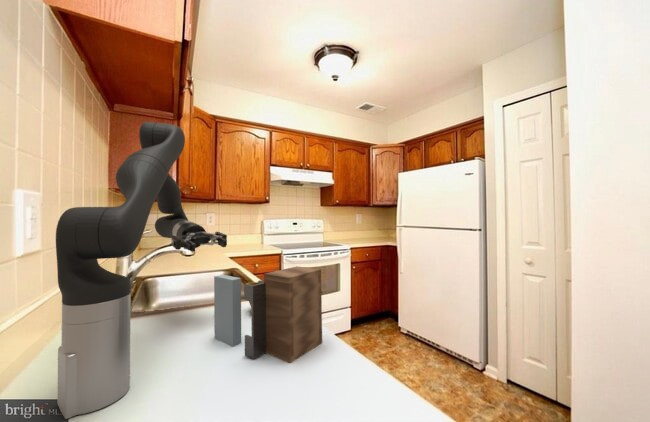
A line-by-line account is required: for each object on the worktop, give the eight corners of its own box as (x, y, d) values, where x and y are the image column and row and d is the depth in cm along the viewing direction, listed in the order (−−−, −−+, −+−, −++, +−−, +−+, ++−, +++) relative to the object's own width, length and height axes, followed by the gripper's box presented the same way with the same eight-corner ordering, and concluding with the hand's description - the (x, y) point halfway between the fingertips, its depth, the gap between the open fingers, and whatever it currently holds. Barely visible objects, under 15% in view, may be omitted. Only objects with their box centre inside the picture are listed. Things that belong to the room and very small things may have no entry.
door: (232, 346, 65) (232, 280, 65) (214, 338, 69) (214, 276, 70) (241, 343, 67) (240, 278, 67) (222, 335, 71) (222, 274, 72)
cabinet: (289, 363, 57) (288, 277, 57) (264, 352, 62) (263, 273, 62) (322, 342, 66) (321, 269, 67) (298, 334, 71) (297, 266, 71)
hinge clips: (253, 360, 58) (253, 286, 59) (244, 355, 60) (244, 284, 61) (269, 351, 62) (268, 281, 63) (260, 347, 64) (260, 280, 64)
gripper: (163, 223, 79) (182, 235, 68) (211, 220, 90) (234, 230, 78) (163, 248, 80) (182, 263, 69) (211, 242, 91) (234, 254, 79)
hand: (210, 245), depth 74 cm, fingers open, 8 cm apart
